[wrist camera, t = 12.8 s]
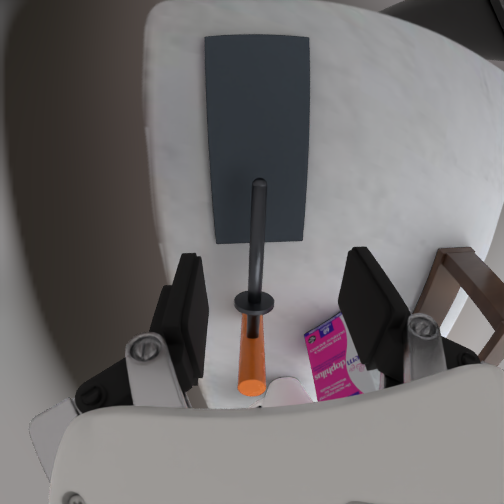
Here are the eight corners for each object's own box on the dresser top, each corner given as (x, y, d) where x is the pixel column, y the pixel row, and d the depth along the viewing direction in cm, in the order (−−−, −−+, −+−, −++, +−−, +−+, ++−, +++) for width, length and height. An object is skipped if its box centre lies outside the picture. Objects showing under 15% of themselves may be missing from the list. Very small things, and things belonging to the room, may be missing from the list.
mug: (316, 365, 33) (334, 443, 23) (309, 394, 37) (321, 459, 27) (224, 372, 32) (224, 453, 23) (231, 400, 37) (232, 467, 27)
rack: (438, 248, 24) (506, 329, 13) (470, 246, 24) (533, 315, 13) (396, 346, 32) (428, 420, 22) (427, 339, 32) (461, 405, 22)
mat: (205, 38, 14) (204, 36, 13) (307, 38, 14) (309, 37, 13) (216, 240, 22) (216, 244, 22) (301, 237, 22) (302, 241, 22)
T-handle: (230, 188, 12) (230, 395, 18) (294, 190, 12) (272, 397, 18) (240, 170, 22) (237, 318, 27) (276, 172, 22) (266, 319, 27)
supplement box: (345, 305, 27) (381, 399, 17) (366, 329, 29) (399, 410, 20) (301, 333, 29) (321, 427, 19) (327, 353, 31) (348, 434, 22)
